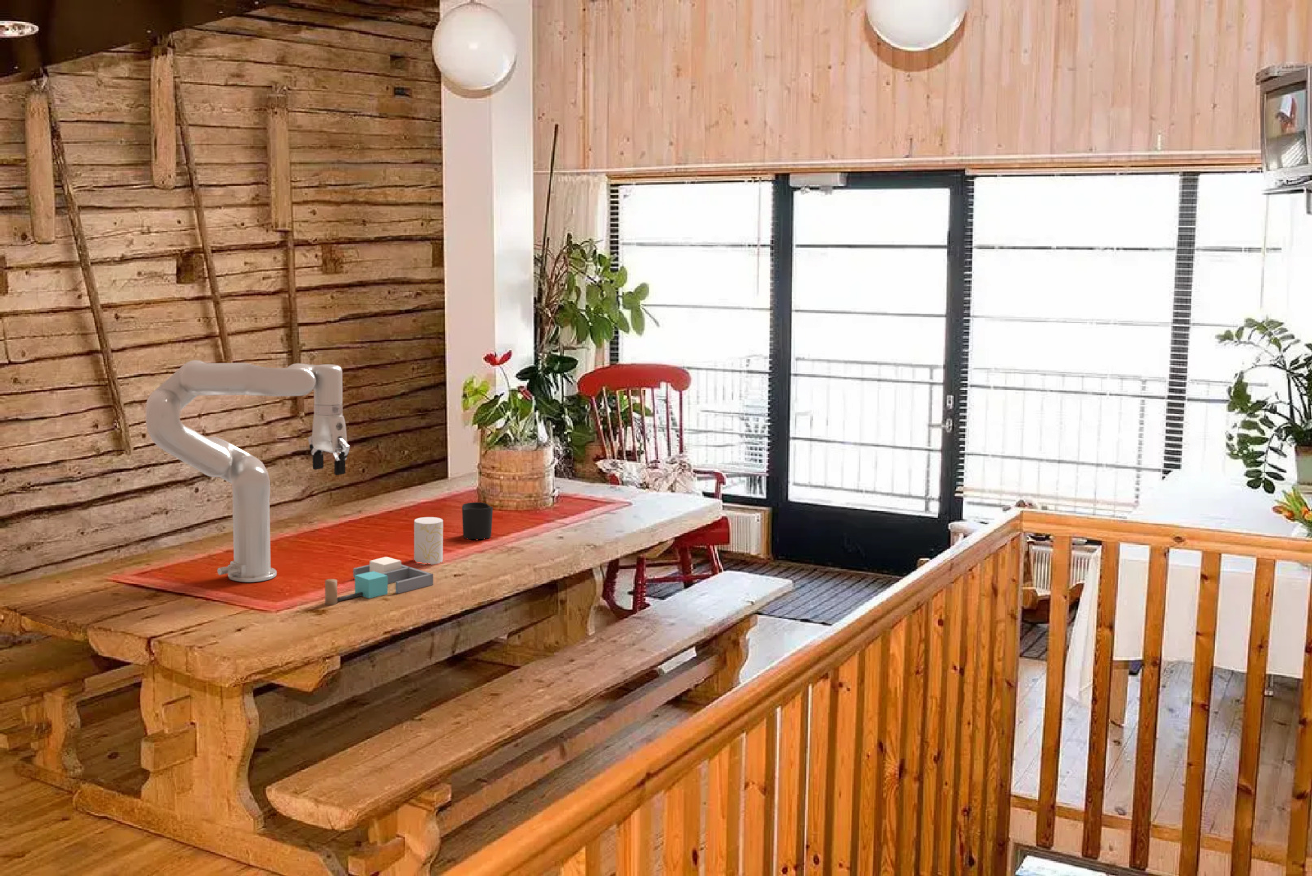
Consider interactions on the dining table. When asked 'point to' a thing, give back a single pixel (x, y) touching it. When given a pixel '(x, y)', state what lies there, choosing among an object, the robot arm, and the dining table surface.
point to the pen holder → (477, 520)
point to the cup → (428, 540)
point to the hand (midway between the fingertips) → (328, 471)
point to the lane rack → (403, 577)
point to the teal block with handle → (358, 587)
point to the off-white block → (384, 565)
